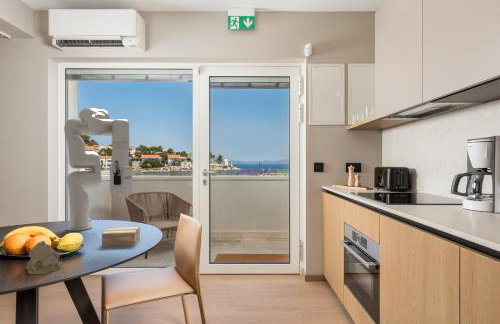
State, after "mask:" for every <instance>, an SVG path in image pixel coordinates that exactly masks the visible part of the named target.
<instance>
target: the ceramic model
mask: <svg viewBox="0 0 500 324" xmlns="http://www.w3.org/2000/svg"><path fill="white" fill-rule="evenodd" d="M28 257H29V258H30V259H29V261H27V263H26V267H25V270H27V271H28V274H30V275H46V274H49V273H52V272H56V271H60V270H61V269H62V268H63V264H62V262H61V261H59V259H60V254H59V253H58V252H57V251H56V250H55V249H54V248H52V246H50V244H47V243H46V241H44V240H43V241H40V242H37V244H35V245H34V246H32V248H31V250H30V251H29V253H28Z"/></svg>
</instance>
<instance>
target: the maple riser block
mask: <svg viewBox="0 0 500 324" xmlns="http://www.w3.org/2000/svg"><path fill="white" fill-rule="evenodd" d="M140 228H141V227H140V226H109V227H108V228H107V229H106V230H104V232H102V233H101V247H122V246H135V245H136V244H137V243H138V241H139V240H140V238H141V237H140Z"/></svg>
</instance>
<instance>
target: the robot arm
mask: <svg viewBox="0 0 500 324" xmlns="http://www.w3.org/2000/svg"><path fill="white" fill-rule="evenodd" d="M63 131H64V132H63V133H64V136H65V138H66V142H67V148H68V149H67V150H68V163H69V166H70V168H72V169H77V171H71V172H70V173H68V174H67V176H66V183H67V187H68V196H69V197H68V198H69V201H68V202H69V204H68V205H69V206H68V207H69V226H66V231H69V232H70V231H71V232H72V231H73V232H76V231H78V232H79V231H85V230H90V229H92V227H93V226H92V224H90V223H91V222H92V218H90V210H89V209H90V207H89V206H90V204H89V201H90V200H89V199H90V198H89V194H88V193H87V192H86V191H87V190H85V189H90V188H92V189H93V188H98V187H99V186H101V184H102V164H101V157H100V155H99V153H98V152H96V151H86V150H87V149H86V142H85V141H84V139H83V138H82V137H81V136H82V135H83V136H96V135H97V136H104V137H105V136H107V137H109V136H111V149H112V150H111V160H110V161H111V162H110V165H111V166H110V167H111V170H112V171H113V176H114V185H121V176H120V173H121V170H122V167H124V166H130V159H129V158H130V157H129V156H130V155H129V150H130V122H129V120H127V119H110V114H109V112H108V111H107V110H105V109H102V108H101V109H100V108H90V107H87V108H83V109H81V110H80V111H79V114H78V118H70V119H68V120H66V121H65V123H64V126H63ZM116 167H120V169H116ZM78 169H80V170H78ZM81 169H89V170H81ZM118 171H119V172H118Z"/></svg>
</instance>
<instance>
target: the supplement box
mask: <svg viewBox="0 0 500 324" xmlns="http://www.w3.org/2000/svg"><path fill="white" fill-rule="evenodd" d="M116 169H120V167H116ZM118 172H119V171H118ZM120 176H121V185H114V176H113V171H112V170H111V166H110V167H109V194H110V195H127V194H131V193H133V166H130V165H129V166H124V167H122V170H121V173H120Z"/></svg>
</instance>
